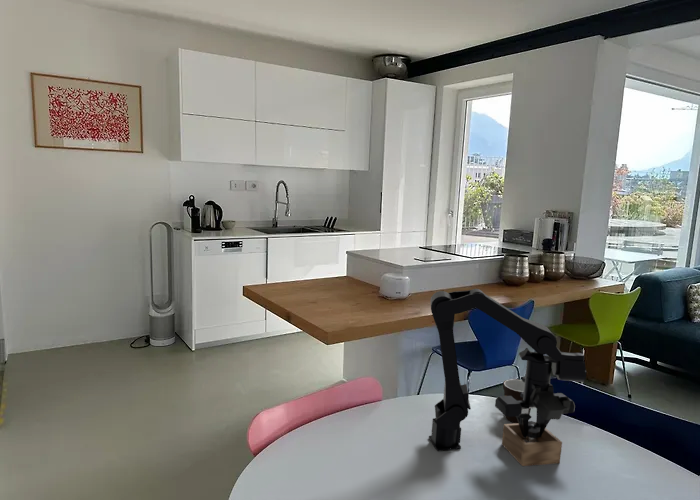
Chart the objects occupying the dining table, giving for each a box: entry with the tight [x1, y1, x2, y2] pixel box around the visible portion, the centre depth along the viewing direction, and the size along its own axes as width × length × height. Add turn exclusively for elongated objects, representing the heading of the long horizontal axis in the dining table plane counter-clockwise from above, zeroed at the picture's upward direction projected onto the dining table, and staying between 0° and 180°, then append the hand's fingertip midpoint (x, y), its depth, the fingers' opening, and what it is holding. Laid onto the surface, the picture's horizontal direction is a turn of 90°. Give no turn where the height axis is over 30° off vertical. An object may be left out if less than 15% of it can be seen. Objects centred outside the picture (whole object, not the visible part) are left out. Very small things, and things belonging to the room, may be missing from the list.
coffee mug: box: [502, 378, 532, 424], centre depth 144 cm, size 12×9×10 cm
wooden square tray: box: [501, 423, 563, 467], centre depth 125 cm, size 10×10×6 cm
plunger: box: [523, 420, 541, 443], centre depth 124 cm, size 7×7×7 cm
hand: (531, 436), depth 124 cm, fingers closed on plunger, 4 cm apart
